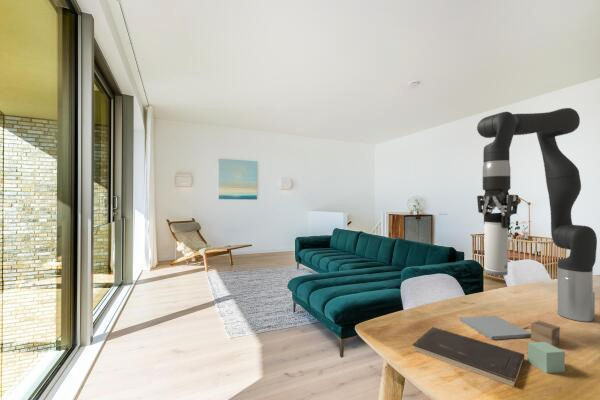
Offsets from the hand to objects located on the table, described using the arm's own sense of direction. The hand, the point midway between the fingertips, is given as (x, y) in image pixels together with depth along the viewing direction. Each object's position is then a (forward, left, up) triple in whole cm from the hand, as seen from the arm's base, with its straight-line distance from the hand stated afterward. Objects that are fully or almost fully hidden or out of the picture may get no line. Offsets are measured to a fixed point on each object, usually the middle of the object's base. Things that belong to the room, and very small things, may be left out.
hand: (496, 226), depth 94 cm
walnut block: (-8, +9, -33) cm, 36 cm away
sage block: (+5, +21, -33) cm, 40 cm away
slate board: (0, -1, -33) cm, 33 cm away
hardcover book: (+21, +13, -34) cm, 42 cm away
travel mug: (0, 0, -15) cm, 15 cm away
